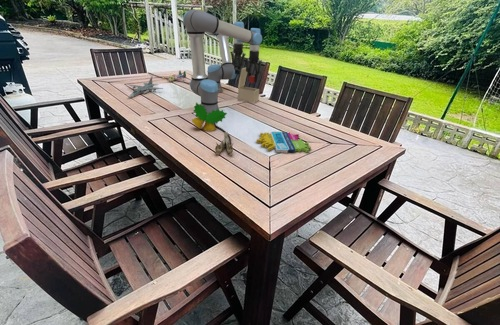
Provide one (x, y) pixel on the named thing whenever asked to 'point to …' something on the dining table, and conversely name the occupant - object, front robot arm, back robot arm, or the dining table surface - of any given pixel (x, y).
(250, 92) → the chest
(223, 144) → the jawbone
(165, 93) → the dining table surface
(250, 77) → the block
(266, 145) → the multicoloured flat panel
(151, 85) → the airplane
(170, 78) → the toy
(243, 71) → the lid
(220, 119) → the ornament
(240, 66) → the back robot arm
